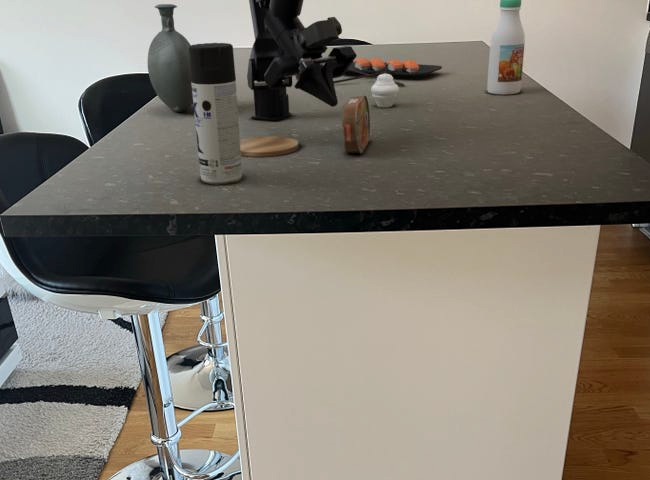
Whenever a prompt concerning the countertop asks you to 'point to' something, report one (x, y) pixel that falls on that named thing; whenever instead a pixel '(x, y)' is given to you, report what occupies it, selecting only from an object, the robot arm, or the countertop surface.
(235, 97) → the spray can
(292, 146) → the wooden coaster
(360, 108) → the tin
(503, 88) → the milk bottle
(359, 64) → the sushi plate
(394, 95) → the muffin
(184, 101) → the flask
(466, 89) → the countertop surface
